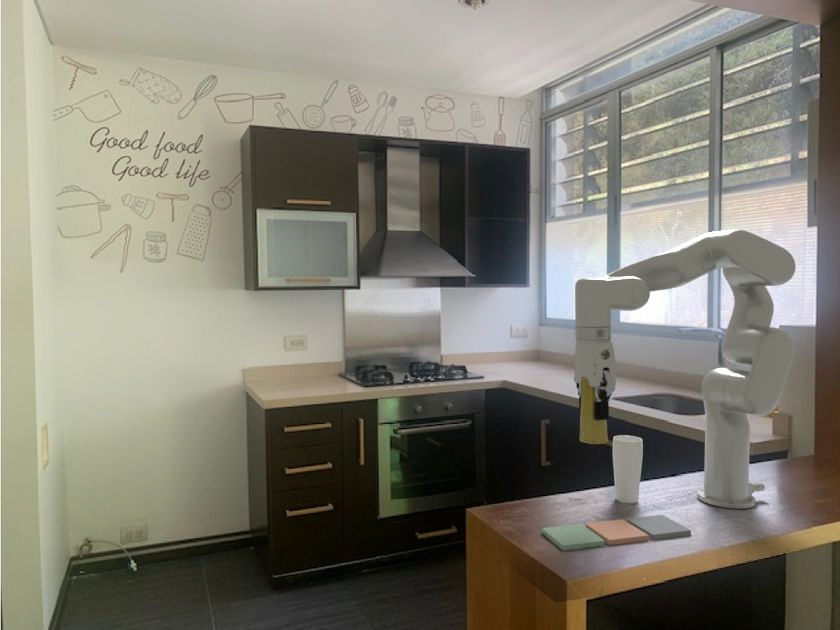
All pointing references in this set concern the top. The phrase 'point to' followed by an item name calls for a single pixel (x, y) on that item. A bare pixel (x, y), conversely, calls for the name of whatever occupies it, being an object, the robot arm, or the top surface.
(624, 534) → the terracotta coaster
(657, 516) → the grey coaster
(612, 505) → the top surface
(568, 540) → the green coaster
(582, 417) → the vase
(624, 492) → the drinking glass
